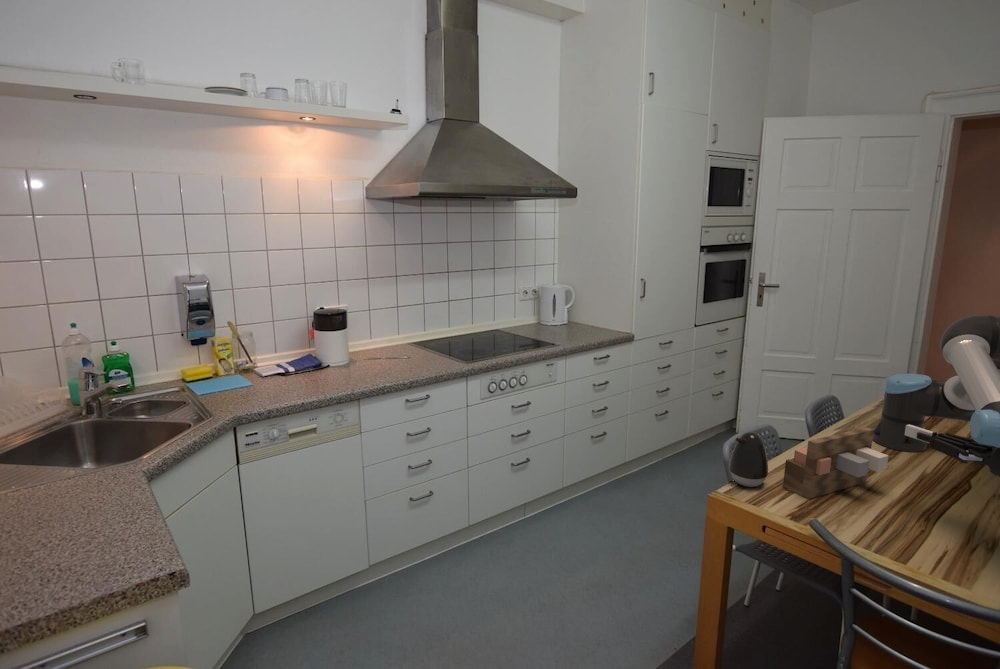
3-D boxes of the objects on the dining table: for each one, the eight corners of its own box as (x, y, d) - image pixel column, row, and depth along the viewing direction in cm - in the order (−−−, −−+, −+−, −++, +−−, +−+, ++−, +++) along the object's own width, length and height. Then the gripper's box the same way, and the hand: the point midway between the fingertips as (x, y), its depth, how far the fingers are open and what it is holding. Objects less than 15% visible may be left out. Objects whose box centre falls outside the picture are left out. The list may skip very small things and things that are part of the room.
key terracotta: (803, 460, 160) (804, 447, 159) (829, 472, 153) (831, 458, 152) (793, 463, 158) (794, 450, 157) (819, 475, 151) (821, 461, 150)
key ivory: (858, 457, 162) (859, 444, 161) (886, 469, 155) (888, 455, 154) (848, 460, 160) (850, 447, 159) (877, 472, 153) (879, 458, 152)
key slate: (839, 462, 159) (841, 449, 158) (867, 474, 151) (869, 460, 151) (829, 465, 157) (831, 452, 156) (857, 477, 150) (859, 463, 149)
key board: (839, 470, 169) (846, 420, 166) (866, 482, 162) (873, 429, 159) (782, 486, 160) (788, 433, 156) (808, 499, 153) (815, 443, 149)
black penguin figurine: (719, 478, 165) (723, 428, 162) (747, 472, 168) (752, 424, 165) (745, 494, 155) (750, 442, 152) (774, 487, 159) (780, 436, 156)
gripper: (999, 487, 124) (888, 447, 145) (1030, 476, 129) (920, 439, 150) (1005, 455, 122) (893, 419, 144) (1037, 445, 128) (924, 412, 149)
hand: (907, 429), depth 147 cm, fingers closed
